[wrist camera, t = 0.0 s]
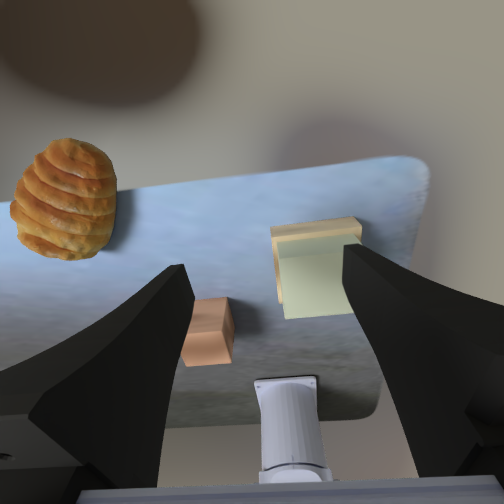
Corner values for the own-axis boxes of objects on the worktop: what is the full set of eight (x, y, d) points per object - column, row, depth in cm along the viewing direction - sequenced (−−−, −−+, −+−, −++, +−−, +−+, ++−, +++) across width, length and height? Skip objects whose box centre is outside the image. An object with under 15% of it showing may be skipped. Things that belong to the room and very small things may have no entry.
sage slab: (348, 292, 22) (358, 312, 20) (282, 298, 23) (285, 319, 20) (353, 233, 19) (365, 249, 17) (276, 242, 20) (279, 258, 17)
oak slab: (347, 279, 24) (356, 296, 22) (277, 286, 25) (279, 303, 23) (351, 214, 21) (362, 226, 19) (269, 224, 21) (271, 237, 19)
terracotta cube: (234, 326, 27) (231, 362, 24) (196, 330, 28) (186, 366, 24) (227, 296, 25) (221, 330, 21) (184, 300, 26) (172, 335, 22)
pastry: (47, 114, 17) (-1, 116, 14) (141, 167, 19) (117, 180, 16) (30, 219, 21) (-11, 240, 18) (108, 254, 23) (83, 279, 20)
